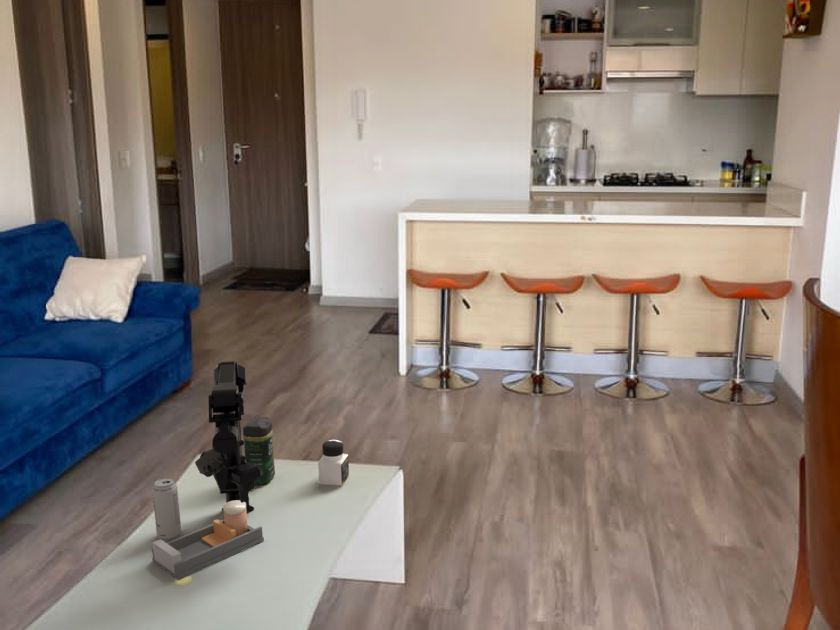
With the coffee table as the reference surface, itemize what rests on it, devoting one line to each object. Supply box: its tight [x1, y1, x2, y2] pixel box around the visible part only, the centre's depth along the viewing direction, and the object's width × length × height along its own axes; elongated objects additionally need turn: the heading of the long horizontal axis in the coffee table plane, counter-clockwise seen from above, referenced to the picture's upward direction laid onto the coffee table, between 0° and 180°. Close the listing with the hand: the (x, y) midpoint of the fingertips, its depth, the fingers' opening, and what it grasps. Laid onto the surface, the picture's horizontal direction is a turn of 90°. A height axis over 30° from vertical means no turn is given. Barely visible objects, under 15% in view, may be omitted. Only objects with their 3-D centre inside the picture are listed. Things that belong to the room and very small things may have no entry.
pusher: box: [201, 518, 236, 547], centre depth 198 cm, size 8×5×4 cm, turn 46°
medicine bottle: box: [317, 439, 350, 487], centre depth 233 cm, size 7×7×12 cm
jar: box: [222, 500, 248, 537], centre depth 201 cm, size 6×6×8 cm
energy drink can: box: [152, 477, 182, 542], centre depth 202 cm, size 6×6×15 cm
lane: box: [151, 518, 265, 580], centre depth 196 cm, size 12×24×6 cm, turn 136°
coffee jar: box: [242, 416, 276, 486], centre depth 234 cm, size 10×8×19 cm
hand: (232, 496), depth 199 cm, fingers open, 9 cm apart
